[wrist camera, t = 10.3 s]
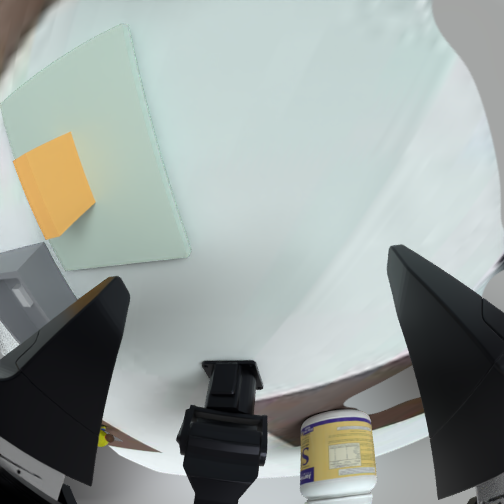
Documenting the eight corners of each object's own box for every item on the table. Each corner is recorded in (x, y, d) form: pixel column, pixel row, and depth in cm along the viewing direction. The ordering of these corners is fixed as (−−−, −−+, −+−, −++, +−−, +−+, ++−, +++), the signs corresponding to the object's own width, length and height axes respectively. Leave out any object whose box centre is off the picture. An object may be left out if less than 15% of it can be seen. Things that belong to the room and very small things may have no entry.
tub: (114, 352, 34) (102, 381, 30) (53, 344, 37) (40, 368, 32) (44, 242, 24) (17, 270, 20) (-8, 255, 27) (-29, 277, 23)
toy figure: (105, 419, 55) (98, 441, 50) (124, 428, 57) (117, 450, 52) (85, 422, 63) (79, 440, 57) (101, 431, 65) (95, 448, 59)
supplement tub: (297, 411, 39) (295, 510, 26) (374, 401, 37) (385, 499, 23) (303, 434, 46) (301, 513, 32) (365, 426, 44) (372, 504, 30)
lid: (194, 243, 24) (169, 302, 18) (74, 259, 26) (39, 304, 20) (135, 26, 14) (75, 15, 8) (14, 99, 16) (-42, 120, 10)
